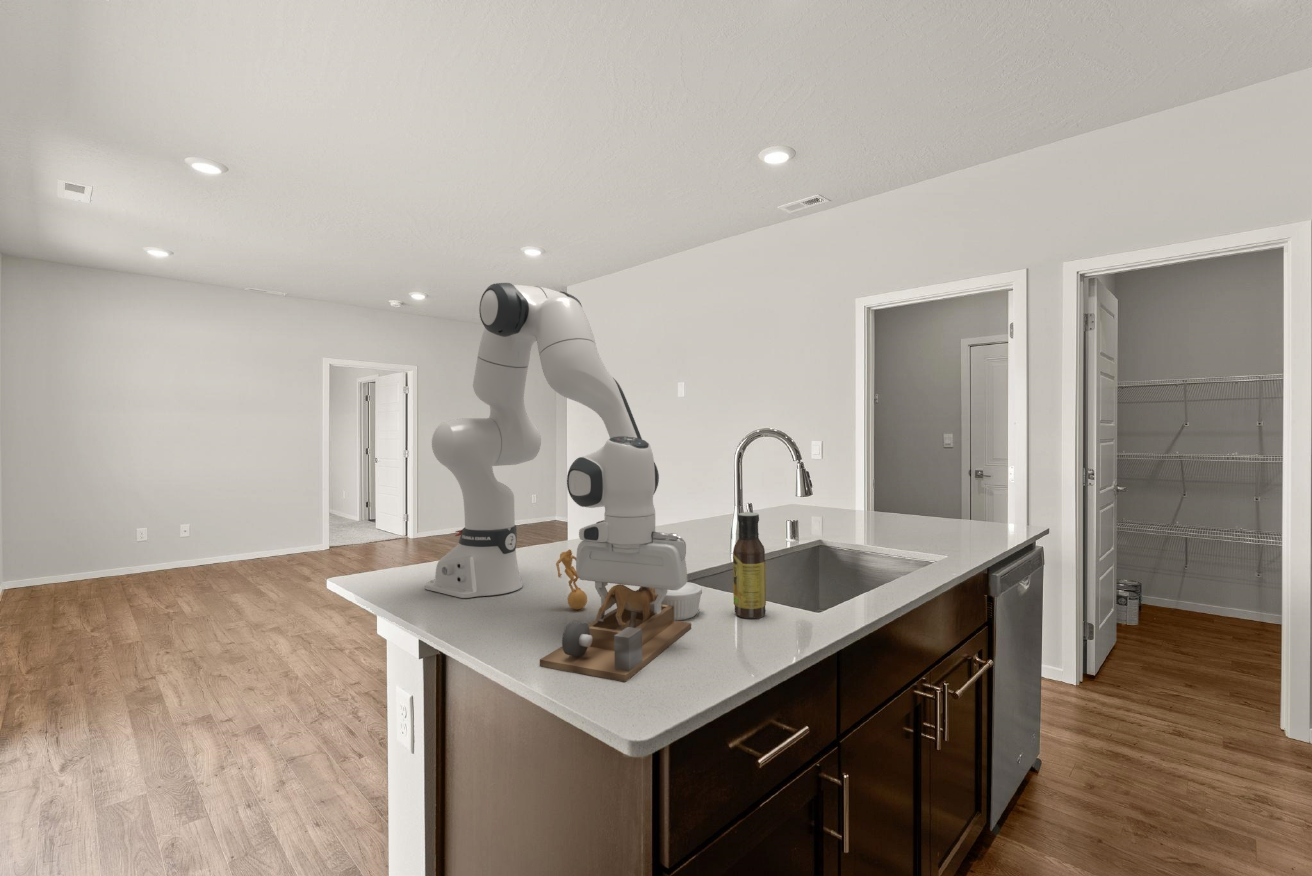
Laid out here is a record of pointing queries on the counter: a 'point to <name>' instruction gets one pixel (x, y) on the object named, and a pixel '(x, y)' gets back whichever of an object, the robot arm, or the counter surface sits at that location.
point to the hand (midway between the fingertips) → (630, 609)
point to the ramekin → (684, 600)
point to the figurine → (576, 597)
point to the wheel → (576, 639)
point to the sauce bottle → (749, 569)
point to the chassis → (621, 645)
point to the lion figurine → (628, 603)
